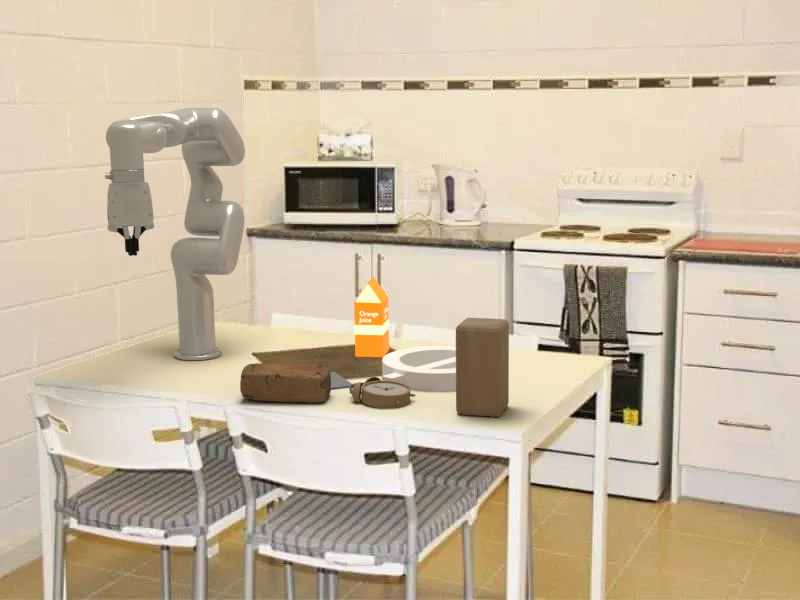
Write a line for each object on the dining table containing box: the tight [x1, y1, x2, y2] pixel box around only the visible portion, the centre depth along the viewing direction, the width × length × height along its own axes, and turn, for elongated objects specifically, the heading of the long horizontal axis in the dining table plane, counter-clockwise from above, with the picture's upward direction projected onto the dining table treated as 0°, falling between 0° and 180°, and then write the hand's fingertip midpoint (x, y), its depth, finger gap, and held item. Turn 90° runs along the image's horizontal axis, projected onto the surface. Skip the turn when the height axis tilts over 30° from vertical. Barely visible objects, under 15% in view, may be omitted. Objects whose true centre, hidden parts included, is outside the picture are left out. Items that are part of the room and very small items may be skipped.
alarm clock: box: [348, 376, 416, 409], centre depth 264 cm, size 11×5×15 cm
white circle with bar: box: [381, 345, 456, 393], centre depth 284 cm, size 28×28×5 cm
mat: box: [330, 371, 353, 390], centre depth 278 cm, size 14×22×1 cm, turn 113°
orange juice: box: [353, 276, 390, 358], centre depth 307 cm, size 8×9×20 cm
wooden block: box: [455, 317, 510, 418], centre depth 253 cm, size 10×10×20 cm
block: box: [239, 362, 332, 404], centre depth 267 cm, size 11×8×20 cm
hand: (132, 254), depth 273 cm, fingers closed
